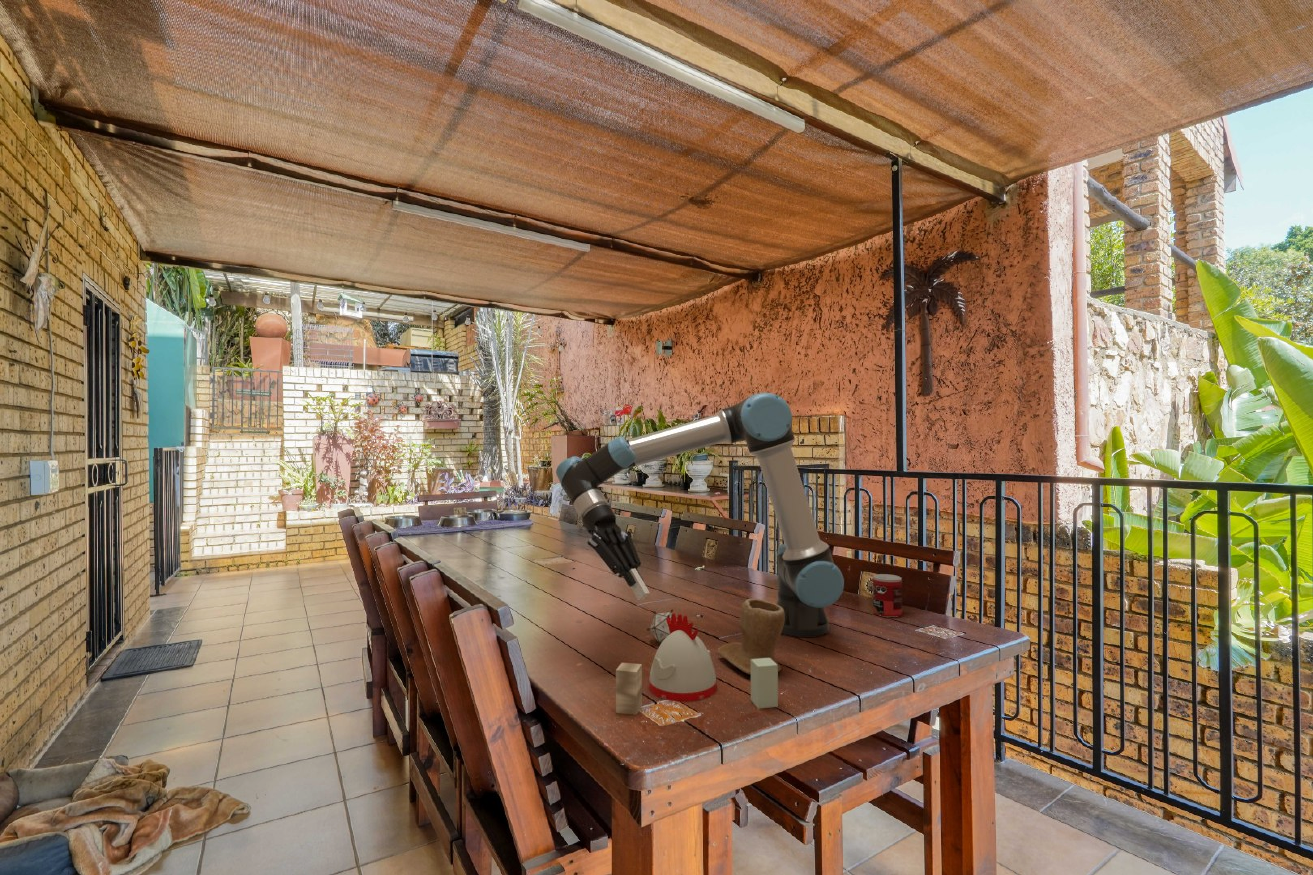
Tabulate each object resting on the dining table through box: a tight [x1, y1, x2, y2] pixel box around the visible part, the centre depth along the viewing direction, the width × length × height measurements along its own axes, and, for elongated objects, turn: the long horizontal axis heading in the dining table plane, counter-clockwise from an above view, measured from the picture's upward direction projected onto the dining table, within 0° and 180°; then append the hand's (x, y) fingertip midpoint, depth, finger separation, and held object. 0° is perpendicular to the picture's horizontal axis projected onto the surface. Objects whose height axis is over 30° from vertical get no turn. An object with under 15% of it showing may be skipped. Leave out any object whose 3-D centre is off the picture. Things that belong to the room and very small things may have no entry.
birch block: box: [615, 662, 643, 716], centre depth 114 cm, size 4×4×8 cm
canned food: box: [872, 573, 903, 617], centre depth 176 cm, size 8×8×11 cm
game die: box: [646, 608, 677, 646], centre depth 152 cm, size 9×8×10 cm
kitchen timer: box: [648, 612, 717, 702], centre depth 124 cm, size 14×14×15 cm
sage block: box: [750, 658, 779, 710], centre depth 116 cm, size 4×4×8 cm
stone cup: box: [717, 598, 785, 676], centre depth 135 cm, size 15×12×15 cm
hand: (644, 596), depth 132 cm, fingers closed
